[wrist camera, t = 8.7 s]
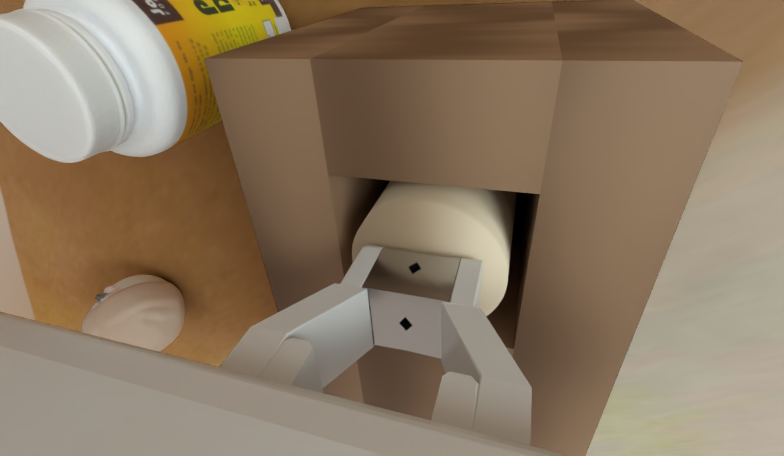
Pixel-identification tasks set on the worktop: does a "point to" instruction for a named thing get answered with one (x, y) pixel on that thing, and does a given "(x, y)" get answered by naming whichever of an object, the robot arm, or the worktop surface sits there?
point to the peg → (446, 228)
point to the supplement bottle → (119, 71)
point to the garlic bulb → (138, 312)
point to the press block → (484, 170)
